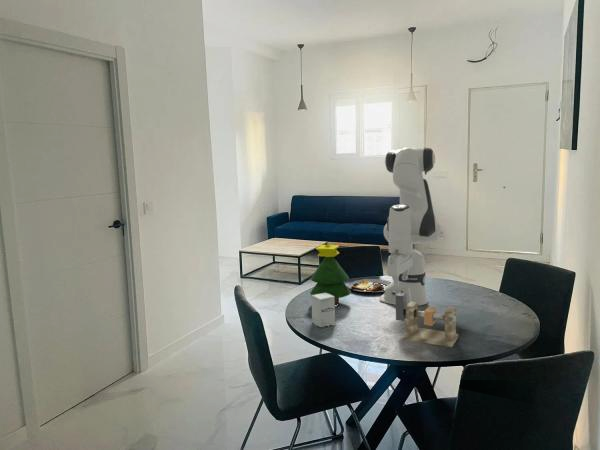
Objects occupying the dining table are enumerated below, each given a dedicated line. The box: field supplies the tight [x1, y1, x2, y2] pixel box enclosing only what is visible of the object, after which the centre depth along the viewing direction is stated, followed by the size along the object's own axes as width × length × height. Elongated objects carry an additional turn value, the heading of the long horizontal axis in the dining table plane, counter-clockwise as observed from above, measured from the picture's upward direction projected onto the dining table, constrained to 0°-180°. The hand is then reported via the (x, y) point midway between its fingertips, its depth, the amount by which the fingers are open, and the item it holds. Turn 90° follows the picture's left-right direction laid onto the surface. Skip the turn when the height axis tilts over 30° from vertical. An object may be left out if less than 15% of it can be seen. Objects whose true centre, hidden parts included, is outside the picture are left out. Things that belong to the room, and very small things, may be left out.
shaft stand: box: [403, 302, 459, 348], centre depth 177 cm, size 18×10×12 cm, turn 59°
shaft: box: [395, 292, 457, 323], centre depth 177 cm, size 22×4×10 cm, turn 59°
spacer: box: [423, 306, 437, 327], centre depth 177 cm, size 3×5×5 cm, turn 149°
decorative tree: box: [310, 243, 352, 305], centre depth 220 cm, size 19×19×30 cm
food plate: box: [346, 278, 393, 293], centre depth 245 cm, size 25×23×4 cm
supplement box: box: [310, 293, 336, 328], centre depth 196 cm, size 7×7×13 cm
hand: (400, 282), depth 180 cm, fingers open, 8 cm apart
